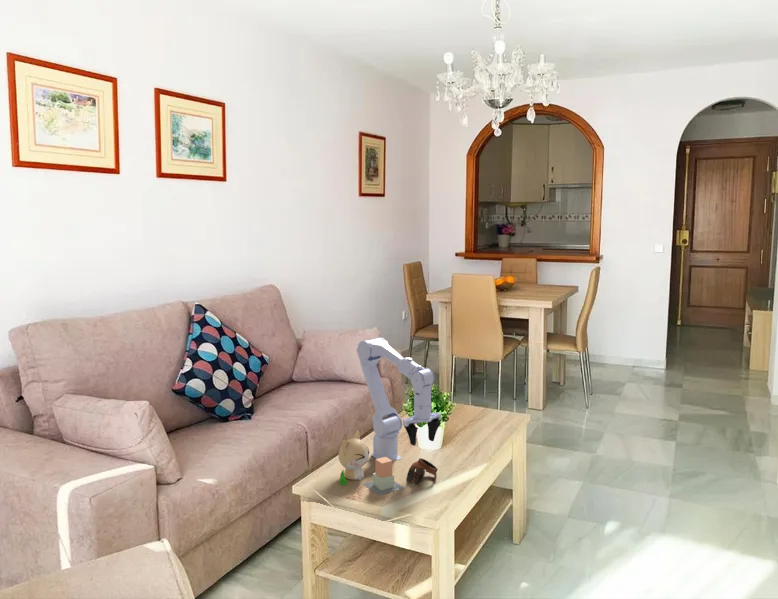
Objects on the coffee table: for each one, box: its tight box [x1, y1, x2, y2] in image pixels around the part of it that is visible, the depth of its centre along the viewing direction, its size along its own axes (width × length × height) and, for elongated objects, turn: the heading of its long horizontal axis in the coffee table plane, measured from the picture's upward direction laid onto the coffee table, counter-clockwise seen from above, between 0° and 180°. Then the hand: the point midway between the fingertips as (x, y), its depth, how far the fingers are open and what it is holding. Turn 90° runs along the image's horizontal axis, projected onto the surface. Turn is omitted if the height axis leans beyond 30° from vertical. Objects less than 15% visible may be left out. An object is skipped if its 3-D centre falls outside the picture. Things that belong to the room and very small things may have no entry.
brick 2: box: [372, 472, 395, 490], centre depth 211 cm, size 5×5×4 cm
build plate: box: [362, 480, 405, 496], centre depth 211 cm, size 10×10×1 cm
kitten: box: [338, 430, 370, 486], centre depth 217 cm, size 15×10×15 cm
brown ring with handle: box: [406, 458, 438, 485], centre depth 215 cm, size 12×10×8 cm
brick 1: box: [374, 457, 393, 478], centre depth 210 cm, size 4×4×5 cm
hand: (422, 442), depth 222 cm, fingers open, 7 cm apart
